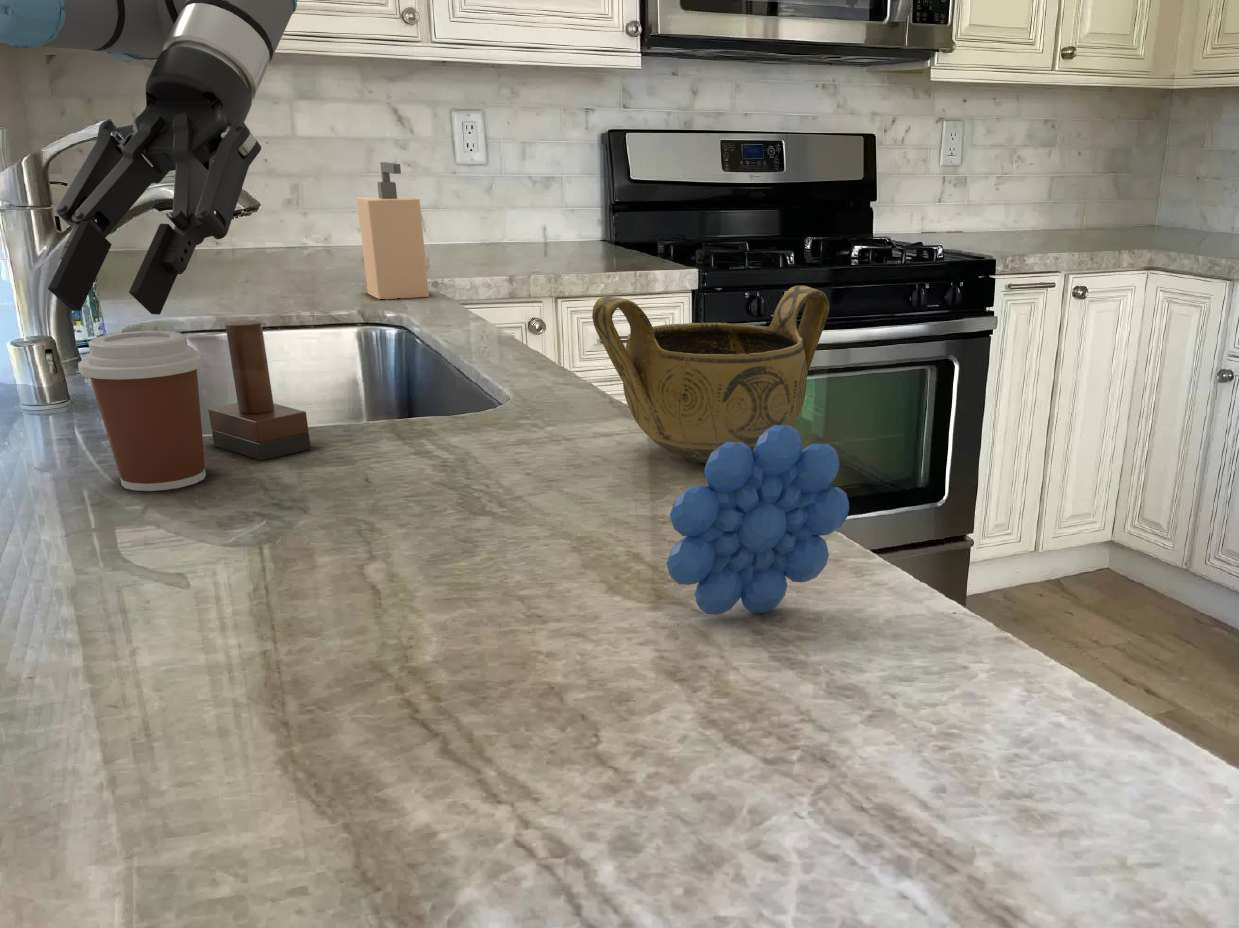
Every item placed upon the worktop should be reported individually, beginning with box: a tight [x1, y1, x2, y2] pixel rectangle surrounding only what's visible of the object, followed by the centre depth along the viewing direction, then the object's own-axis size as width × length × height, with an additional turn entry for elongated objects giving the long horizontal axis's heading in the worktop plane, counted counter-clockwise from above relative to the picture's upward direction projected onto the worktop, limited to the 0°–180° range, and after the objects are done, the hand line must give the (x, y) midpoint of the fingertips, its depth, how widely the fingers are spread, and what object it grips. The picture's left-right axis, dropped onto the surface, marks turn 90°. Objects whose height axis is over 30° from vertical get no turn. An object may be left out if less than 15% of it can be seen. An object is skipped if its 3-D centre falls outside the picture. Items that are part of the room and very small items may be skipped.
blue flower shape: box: [666, 425, 851, 616], centre depth 69 cm, size 12×7×12 cm, turn 108°
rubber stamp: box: [207, 319, 312, 461], centre depth 103 cm, size 8×5×12 cm, turn 54°
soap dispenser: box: [356, 161, 430, 300], centre depth 192 cm, size 13×9×22 cm
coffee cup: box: [77, 330, 207, 492], centre depth 93 cm, size 9×9×12 cm
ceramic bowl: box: [591, 285, 830, 464], centre depth 102 cm, size 22×17×15 cm
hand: (104, 301), depth 86 cm, fingers open, 6 cm apart
